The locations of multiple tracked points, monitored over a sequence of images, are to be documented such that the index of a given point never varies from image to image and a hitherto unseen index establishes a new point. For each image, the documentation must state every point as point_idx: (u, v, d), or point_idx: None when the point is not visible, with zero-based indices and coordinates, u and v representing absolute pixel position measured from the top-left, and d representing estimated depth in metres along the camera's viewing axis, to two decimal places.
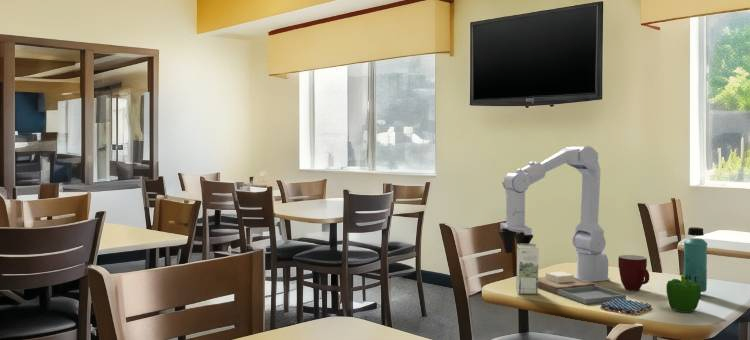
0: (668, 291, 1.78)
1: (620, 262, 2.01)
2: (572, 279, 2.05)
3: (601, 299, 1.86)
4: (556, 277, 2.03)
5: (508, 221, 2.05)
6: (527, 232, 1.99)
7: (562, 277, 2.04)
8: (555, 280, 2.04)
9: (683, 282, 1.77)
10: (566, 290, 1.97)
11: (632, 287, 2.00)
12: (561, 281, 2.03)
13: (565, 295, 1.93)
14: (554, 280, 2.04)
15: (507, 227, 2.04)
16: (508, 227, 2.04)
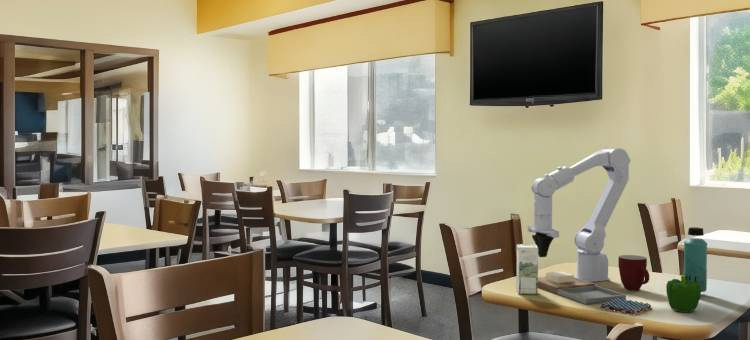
0: (668, 291, 1.78)
1: (620, 262, 2.01)
2: (572, 279, 2.05)
3: (601, 299, 1.86)
4: (556, 277, 2.03)
5: (536, 224, 2.13)
6: (555, 235, 2.08)
7: (562, 277, 2.04)
8: (555, 280, 2.04)
9: (683, 282, 1.77)
10: (566, 290, 1.97)
11: (632, 287, 2.00)
12: (561, 281, 2.03)
13: (565, 295, 1.93)
14: (554, 280, 2.04)
15: (535, 230, 2.12)
16: (536, 230, 2.12)
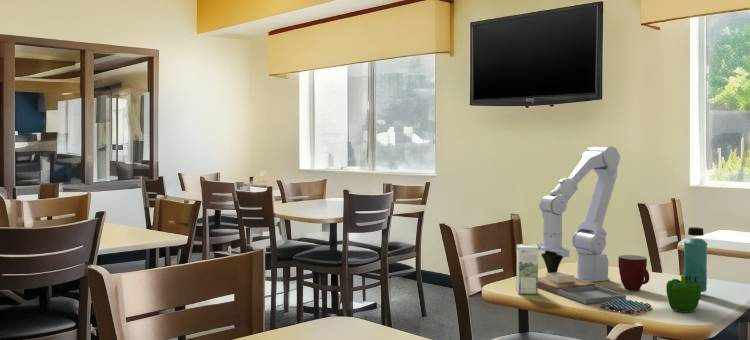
0: (668, 291, 1.78)
1: (620, 262, 2.01)
2: (572, 279, 2.05)
3: (601, 299, 1.86)
4: (556, 277, 2.03)
5: (545, 243, 2.09)
6: (565, 254, 2.03)
7: (562, 277, 2.03)
8: (555, 280, 2.04)
9: (683, 282, 1.77)
10: (566, 290, 1.97)
11: (632, 287, 2.00)
12: (561, 281, 2.03)
13: (565, 295, 1.93)
14: (555, 280, 2.04)
15: (544, 249, 2.08)
16: (545, 249, 2.08)
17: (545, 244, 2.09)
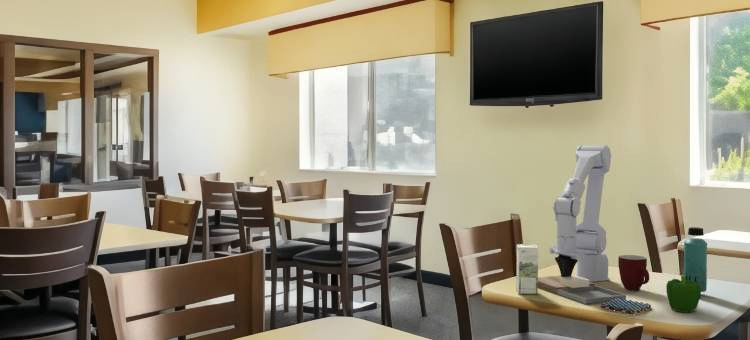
0: (668, 291, 1.78)
1: (620, 262, 2.01)
2: (587, 284, 1.98)
3: (601, 299, 1.86)
4: (571, 282, 1.97)
5: (559, 246, 2.02)
6: (580, 258, 1.96)
7: (577, 282, 1.97)
8: (570, 285, 1.97)
9: (683, 282, 1.77)
10: (566, 290, 1.97)
11: (632, 287, 2.00)
12: (576, 286, 1.97)
13: (565, 295, 1.93)
14: (569, 285, 1.97)
15: (558, 252, 2.01)
16: (559, 252, 2.01)
17: (559, 247, 2.02)
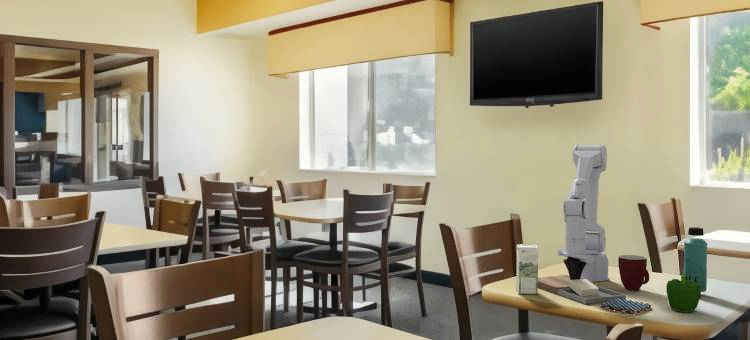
0: (668, 291, 1.78)
1: (620, 262, 2.01)
2: (596, 292, 1.95)
3: (601, 299, 1.86)
4: (580, 290, 1.93)
5: (568, 248, 1.98)
6: (589, 260, 1.92)
7: (586, 290, 1.93)
8: (578, 292, 1.94)
9: (683, 282, 1.77)
10: (566, 290, 1.97)
11: (632, 287, 2.00)
12: (584, 294, 1.94)
13: (565, 295, 1.93)
14: (578, 292, 1.94)
15: (567, 255, 1.97)
16: (568, 255, 1.97)
17: (568, 250, 1.98)
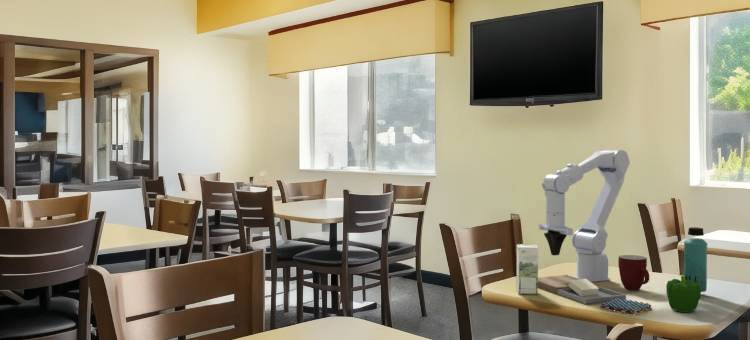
0: (668, 291, 1.78)
1: (620, 262, 2.01)
2: (596, 292, 1.95)
3: (601, 299, 1.86)
4: (580, 290, 1.93)
5: (548, 222, 2.08)
6: (569, 233, 2.03)
7: (586, 290, 1.93)
8: (578, 292, 1.94)
9: (683, 282, 1.77)
10: (566, 290, 1.97)
11: (632, 287, 2.00)
12: (584, 294, 1.94)
13: (565, 295, 1.93)
14: (578, 292, 1.94)
15: (548, 228, 2.07)
16: (549, 228, 2.07)
17: (548, 223, 2.08)
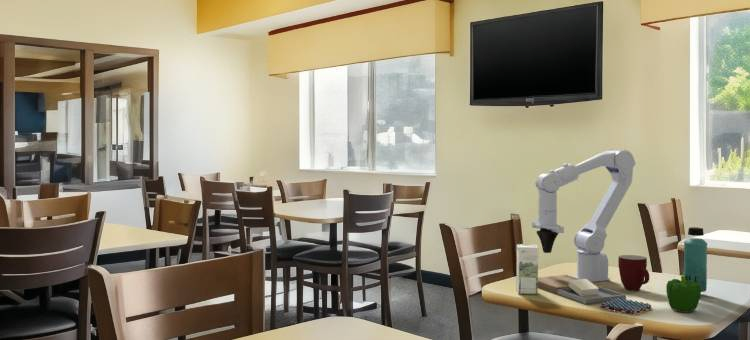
0: (668, 291, 1.78)
1: (620, 262, 2.01)
2: (596, 292, 1.95)
3: (601, 299, 1.86)
4: (580, 290, 1.93)
5: (540, 220, 2.12)
6: (560, 230, 2.07)
7: (586, 290, 1.93)
8: (578, 292, 1.94)
9: (683, 282, 1.77)
10: (566, 290, 1.97)
11: (632, 287, 2.00)
12: (584, 294, 1.94)
13: (565, 295, 1.93)
14: (578, 292, 1.94)
15: (540, 226, 2.12)
16: (541, 226, 2.12)
17: (540, 221, 2.13)
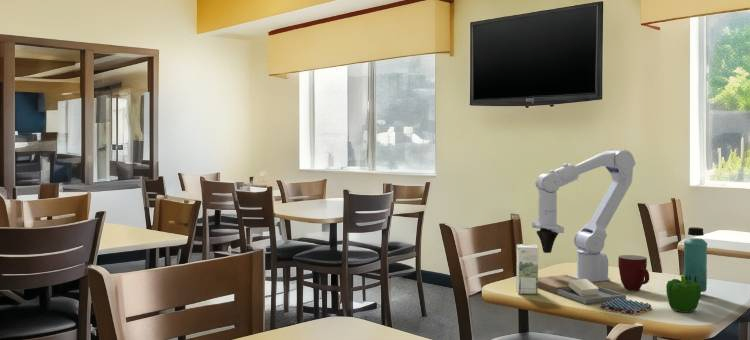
0: (668, 291, 1.78)
1: (620, 262, 2.01)
2: (596, 292, 1.95)
3: (601, 299, 1.86)
4: (580, 290, 1.93)
5: (540, 220, 2.12)
6: (560, 230, 2.07)
7: (586, 290, 1.93)
8: (578, 292, 1.94)
9: (683, 282, 1.77)
10: (566, 290, 1.97)
11: (632, 287, 2.00)
12: (584, 294, 1.94)
13: (565, 295, 1.93)
14: (578, 292, 1.94)
15: (540, 226, 2.12)
16: (541, 226, 2.12)
17: (540, 221, 2.13)
